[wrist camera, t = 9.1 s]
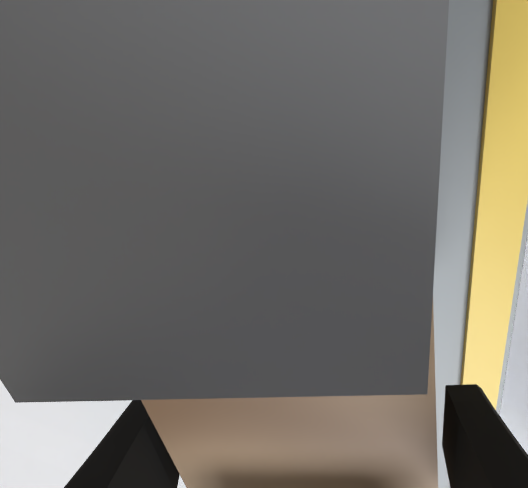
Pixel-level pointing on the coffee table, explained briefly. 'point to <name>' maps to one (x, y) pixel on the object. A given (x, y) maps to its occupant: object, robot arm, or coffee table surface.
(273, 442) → the wooden plank
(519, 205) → the dock
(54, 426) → the coffee table surface
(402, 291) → the crate
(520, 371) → the coffee table surface
